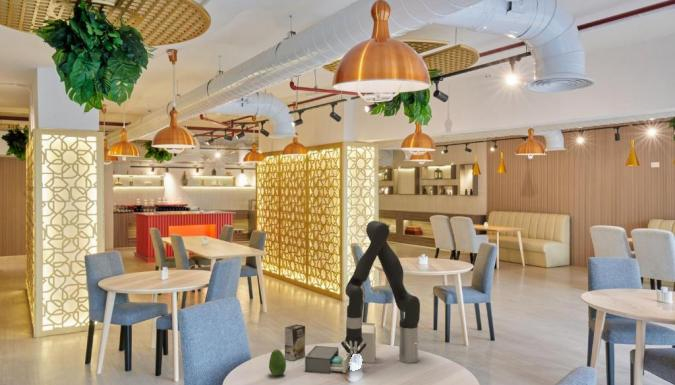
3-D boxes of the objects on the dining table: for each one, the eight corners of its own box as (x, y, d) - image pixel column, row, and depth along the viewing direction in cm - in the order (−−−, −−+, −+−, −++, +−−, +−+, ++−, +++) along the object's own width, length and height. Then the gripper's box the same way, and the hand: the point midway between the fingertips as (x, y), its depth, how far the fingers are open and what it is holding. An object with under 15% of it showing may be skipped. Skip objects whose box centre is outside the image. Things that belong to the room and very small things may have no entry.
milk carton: (373, 363, 264) (373, 325, 264) (359, 362, 266) (359, 324, 265) (375, 358, 271) (375, 321, 271) (361, 357, 273) (361, 320, 272)
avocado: (270, 372, 251) (270, 347, 251) (286, 372, 251) (286, 347, 251) (267, 378, 243) (267, 352, 243) (284, 378, 243) (284, 352, 243)
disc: (342, 361, 260) (342, 356, 260) (340, 365, 254) (340, 360, 254) (330, 360, 261) (330, 355, 261) (328, 364, 256) (328, 359, 256)
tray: (352, 360, 265) (352, 349, 265) (345, 372, 248) (345, 360, 248) (329, 358, 268) (329, 347, 267) (320, 370, 251) (320, 358, 251)
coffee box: (293, 361, 267) (293, 329, 266) (284, 359, 270) (284, 327, 270) (305, 356, 274) (305, 325, 274) (296, 354, 278) (296, 323, 278)
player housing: (338, 361, 267) (338, 347, 267) (329, 373, 249) (329, 358, 249) (315, 359, 270) (315, 345, 270) (305, 371, 252) (305, 356, 252)
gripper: (338, 327, 253) (338, 363, 253) (366, 328, 250) (366, 365, 250) (342, 323, 260) (342, 358, 261) (368, 324, 257) (368, 360, 258)
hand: (354, 361), depth 255 cm, fingers closed
